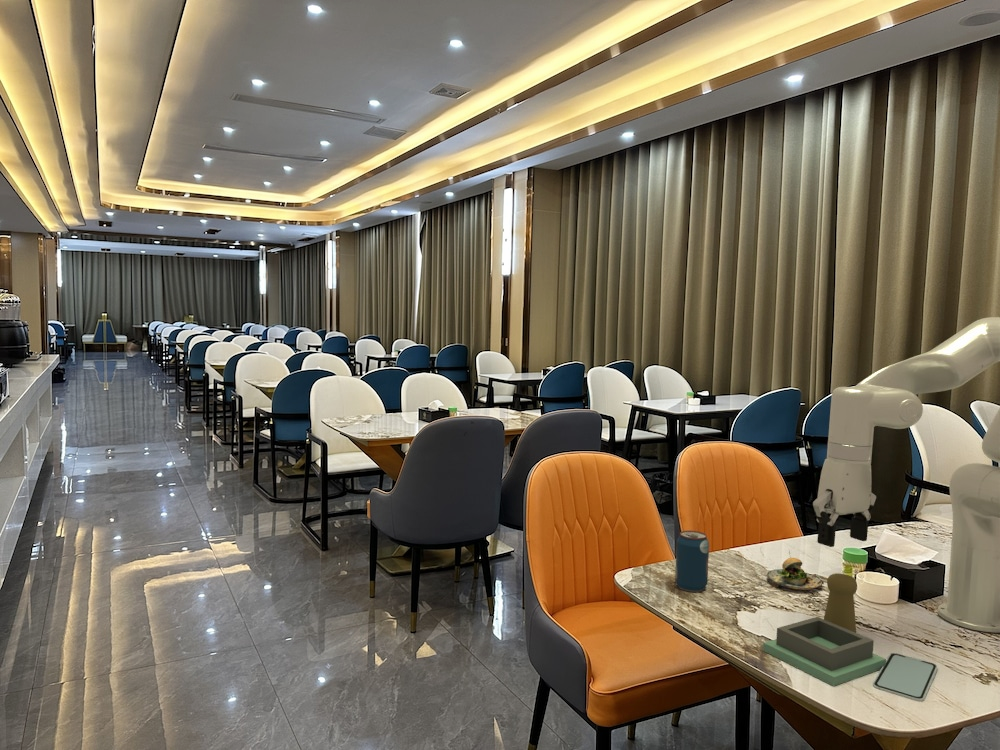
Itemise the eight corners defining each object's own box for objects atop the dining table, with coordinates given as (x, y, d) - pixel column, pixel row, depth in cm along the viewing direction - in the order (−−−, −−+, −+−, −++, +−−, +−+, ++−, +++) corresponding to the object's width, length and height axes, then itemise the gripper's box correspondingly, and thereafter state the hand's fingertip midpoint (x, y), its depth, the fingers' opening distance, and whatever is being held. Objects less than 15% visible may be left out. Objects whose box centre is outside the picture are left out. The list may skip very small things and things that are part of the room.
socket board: (814, 635, 134) (815, 612, 134) (885, 667, 122) (887, 642, 122) (763, 650, 127) (764, 626, 127) (833, 686, 115) (835, 659, 115)
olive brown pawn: (860, 640, 133) (864, 582, 132) (826, 636, 134) (829, 579, 133) (851, 626, 139) (855, 571, 138) (818, 623, 140) (821, 568, 139)
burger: (771, 592, 157) (773, 559, 156) (761, 574, 168) (763, 543, 168) (829, 597, 155) (831, 563, 154) (815, 578, 166) (817, 547, 166)
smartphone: (871, 685, 115) (890, 651, 127) (870, 690, 115) (890, 656, 127) (923, 700, 111) (938, 664, 122) (923, 706, 111) (938, 669, 122)
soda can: (713, 590, 156) (716, 537, 155) (687, 594, 153) (689, 540, 152) (694, 580, 162) (696, 528, 161) (668, 583, 160) (670, 531, 159)
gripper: (859, 447, 141) (852, 532, 142) (801, 451, 133) (795, 541, 134) (895, 454, 135) (888, 542, 136) (838, 458, 126) (830, 553, 127)
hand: (842, 542), depth 135 cm, fingers open, 9 cm apart
